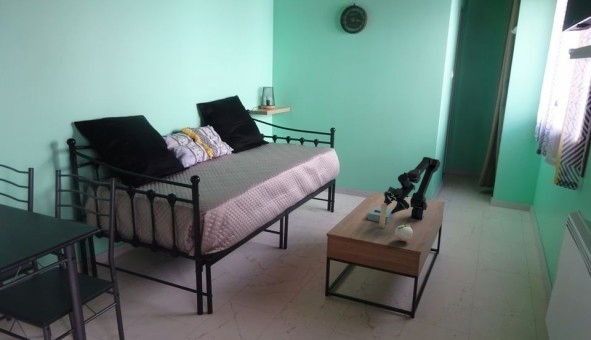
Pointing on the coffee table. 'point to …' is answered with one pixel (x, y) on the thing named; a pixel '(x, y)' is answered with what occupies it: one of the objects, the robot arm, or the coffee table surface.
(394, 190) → the robot arm
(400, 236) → the decorative fruit
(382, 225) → the pin
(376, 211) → the hole block
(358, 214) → the coffee table surface
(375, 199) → the coffee table surface
